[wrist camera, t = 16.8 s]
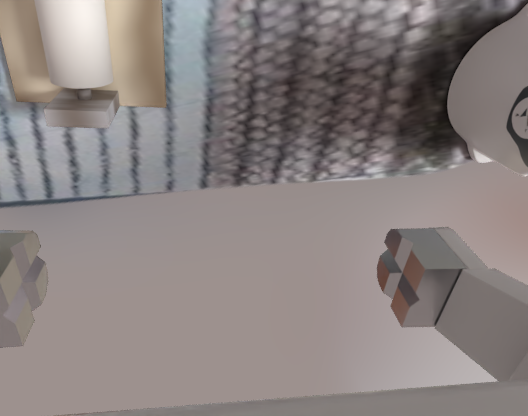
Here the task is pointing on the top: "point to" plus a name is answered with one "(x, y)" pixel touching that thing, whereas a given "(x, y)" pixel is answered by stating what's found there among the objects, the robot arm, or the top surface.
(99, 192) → the top surface
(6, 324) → the robot arm
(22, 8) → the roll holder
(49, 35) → the paper roll
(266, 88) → the top surface
